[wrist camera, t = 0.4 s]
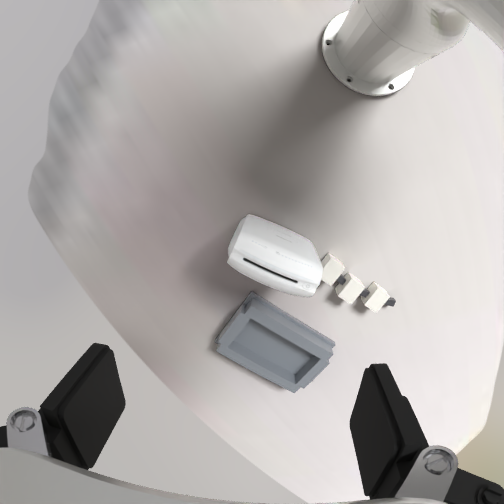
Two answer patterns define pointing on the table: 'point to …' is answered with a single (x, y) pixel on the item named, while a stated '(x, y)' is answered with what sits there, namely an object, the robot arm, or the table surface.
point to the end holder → (274, 344)
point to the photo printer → (275, 257)
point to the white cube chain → (353, 285)
